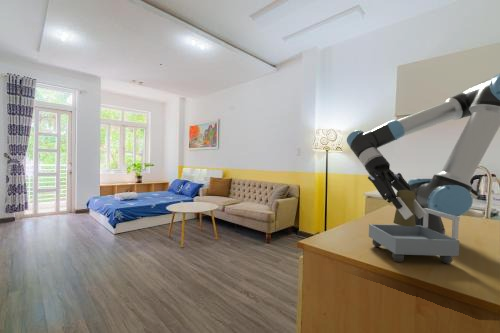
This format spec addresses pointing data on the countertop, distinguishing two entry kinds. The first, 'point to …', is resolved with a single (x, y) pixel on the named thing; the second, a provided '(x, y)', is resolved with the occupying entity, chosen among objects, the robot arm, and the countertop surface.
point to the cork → (408, 199)
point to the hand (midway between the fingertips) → (415, 216)
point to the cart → (417, 239)
